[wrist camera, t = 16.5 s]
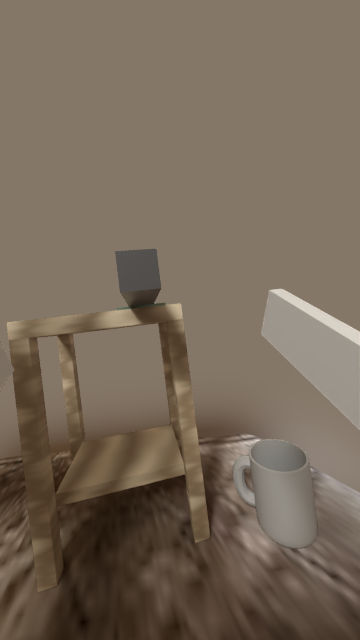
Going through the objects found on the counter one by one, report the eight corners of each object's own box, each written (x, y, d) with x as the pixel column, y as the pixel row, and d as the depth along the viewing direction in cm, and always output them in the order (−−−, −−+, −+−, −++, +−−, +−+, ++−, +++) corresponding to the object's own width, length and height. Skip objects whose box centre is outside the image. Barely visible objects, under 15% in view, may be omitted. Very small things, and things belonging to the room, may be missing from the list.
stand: (37, 592, 24) (6, 319, 24) (79, 487, 40) (59, 322, 40) (210, 538, 27) (180, 301, 28) (185, 461, 43) (166, 310, 44)
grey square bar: (120, 292, 16) (115, 251, 16) (133, 314, 41) (131, 298, 41) (161, 288, 16) (156, 248, 16) (149, 312, 42) (147, 296, 42)
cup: (321, 562, 23) (310, 479, 24) (230, 530, 28) (221, 461, 28) (316, 507, 30) (307, 443, 30) (242, 489, 34) (235, 433, 35)
